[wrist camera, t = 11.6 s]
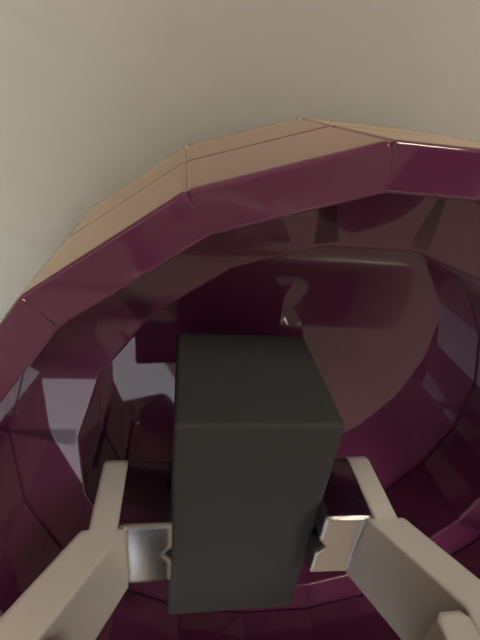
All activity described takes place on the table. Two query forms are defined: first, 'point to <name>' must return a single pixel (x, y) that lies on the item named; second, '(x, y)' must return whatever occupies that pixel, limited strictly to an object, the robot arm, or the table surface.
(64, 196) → the table surface
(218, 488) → the eraser
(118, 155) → the table surface
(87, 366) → the bowl
